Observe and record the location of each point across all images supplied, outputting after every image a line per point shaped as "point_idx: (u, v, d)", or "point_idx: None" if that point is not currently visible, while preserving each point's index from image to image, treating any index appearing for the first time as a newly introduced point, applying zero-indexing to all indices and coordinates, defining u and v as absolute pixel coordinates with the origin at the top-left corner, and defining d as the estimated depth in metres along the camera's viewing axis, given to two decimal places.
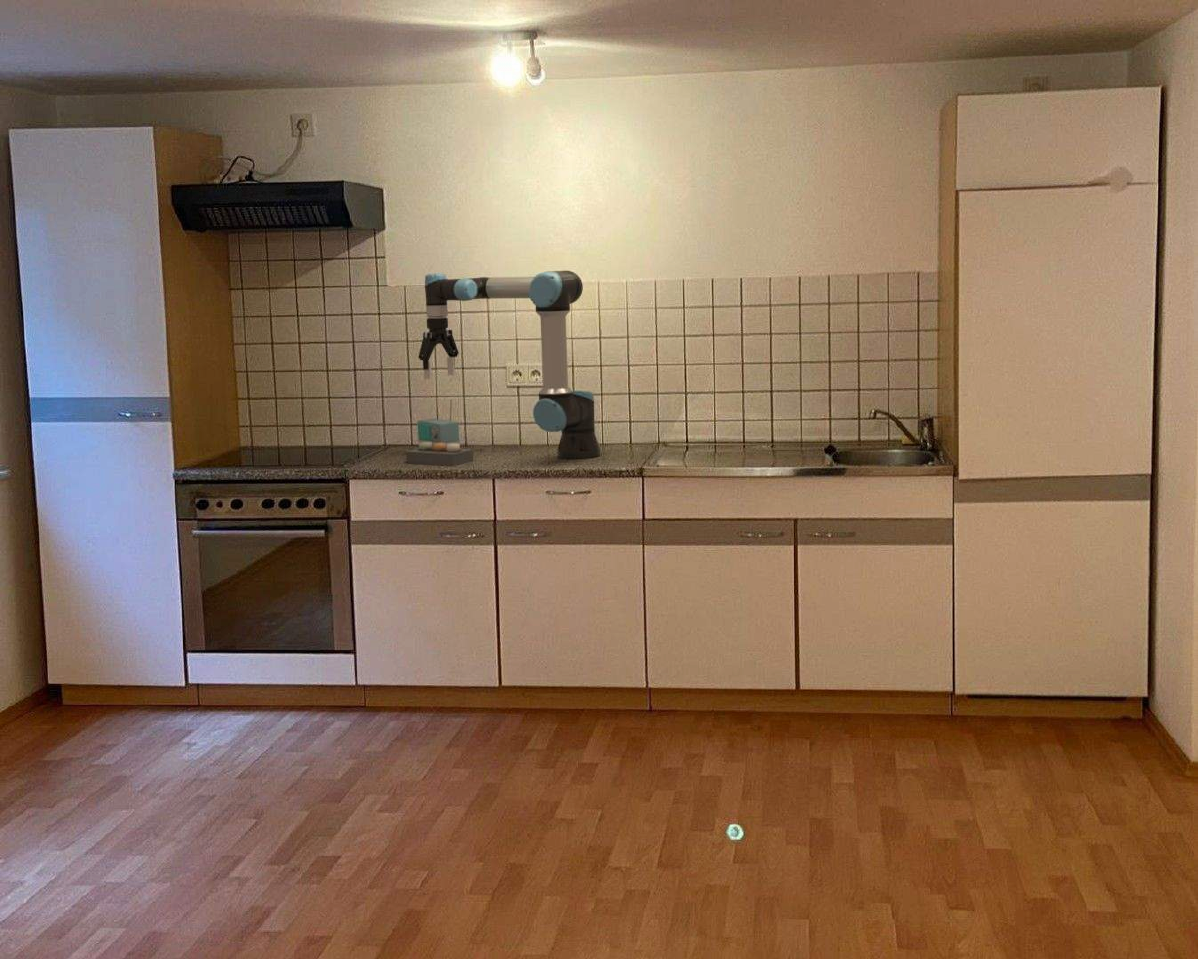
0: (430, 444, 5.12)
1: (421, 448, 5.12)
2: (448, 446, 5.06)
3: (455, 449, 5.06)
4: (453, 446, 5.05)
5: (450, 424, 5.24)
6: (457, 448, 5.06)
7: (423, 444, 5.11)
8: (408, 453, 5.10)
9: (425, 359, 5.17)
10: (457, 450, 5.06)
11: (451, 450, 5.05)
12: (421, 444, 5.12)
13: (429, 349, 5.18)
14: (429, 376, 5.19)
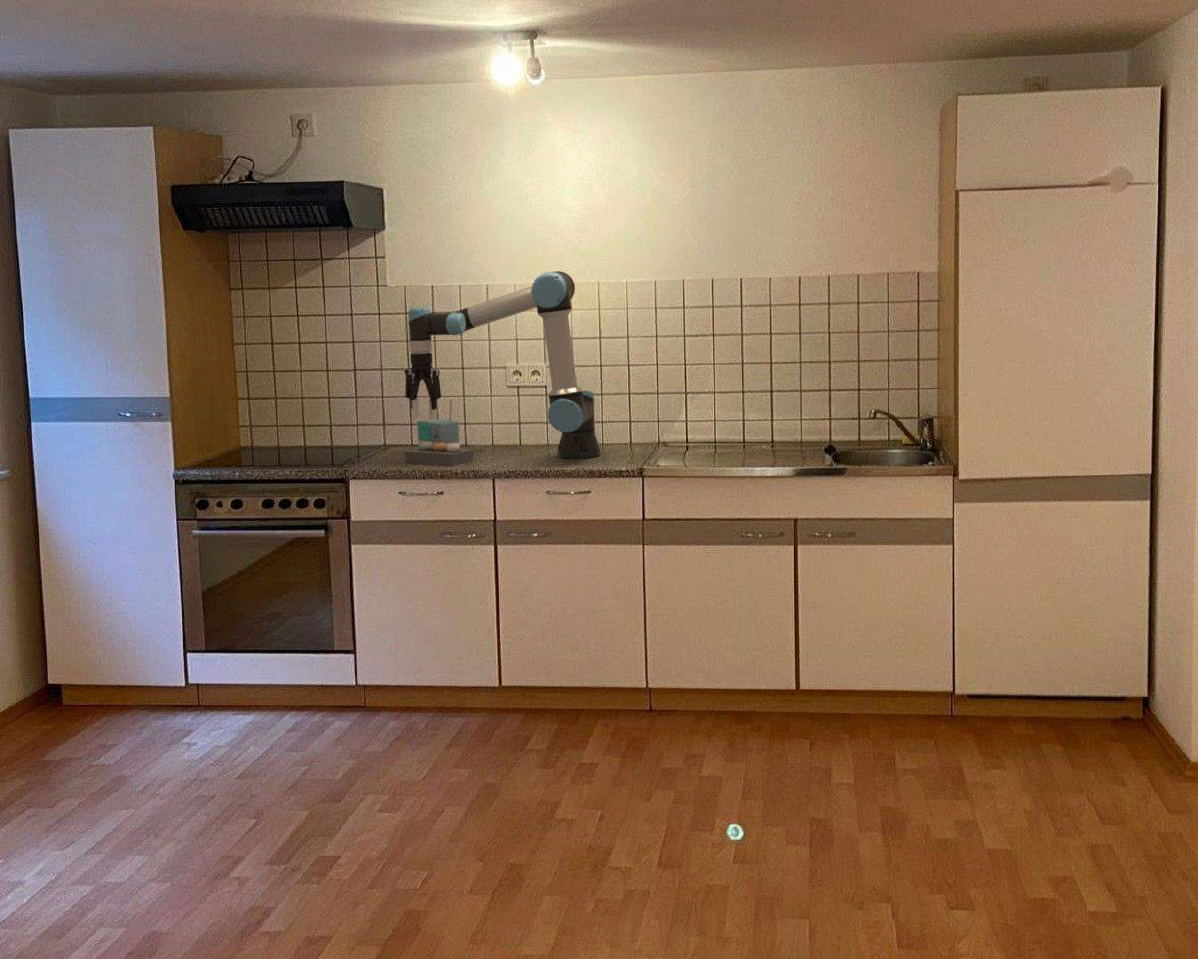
0: (430, 444, 5.12)
1: (421, 448, 5.12)
2: (448, 446, 5.06)
3: (455, 449, 5.06)
4: (453, 446, 5.05)
5: (450, 424, 5.24)
6: (457, 448, 5.06)
7: (423, 444, 5.11)
8: (408, 453, 5.10)
9: (410, 399, 5.13)
10: (457, 450, 5.06)
11: (451, 450, 5.05)
12: (421, 444, 5.12)
13: None
14: None
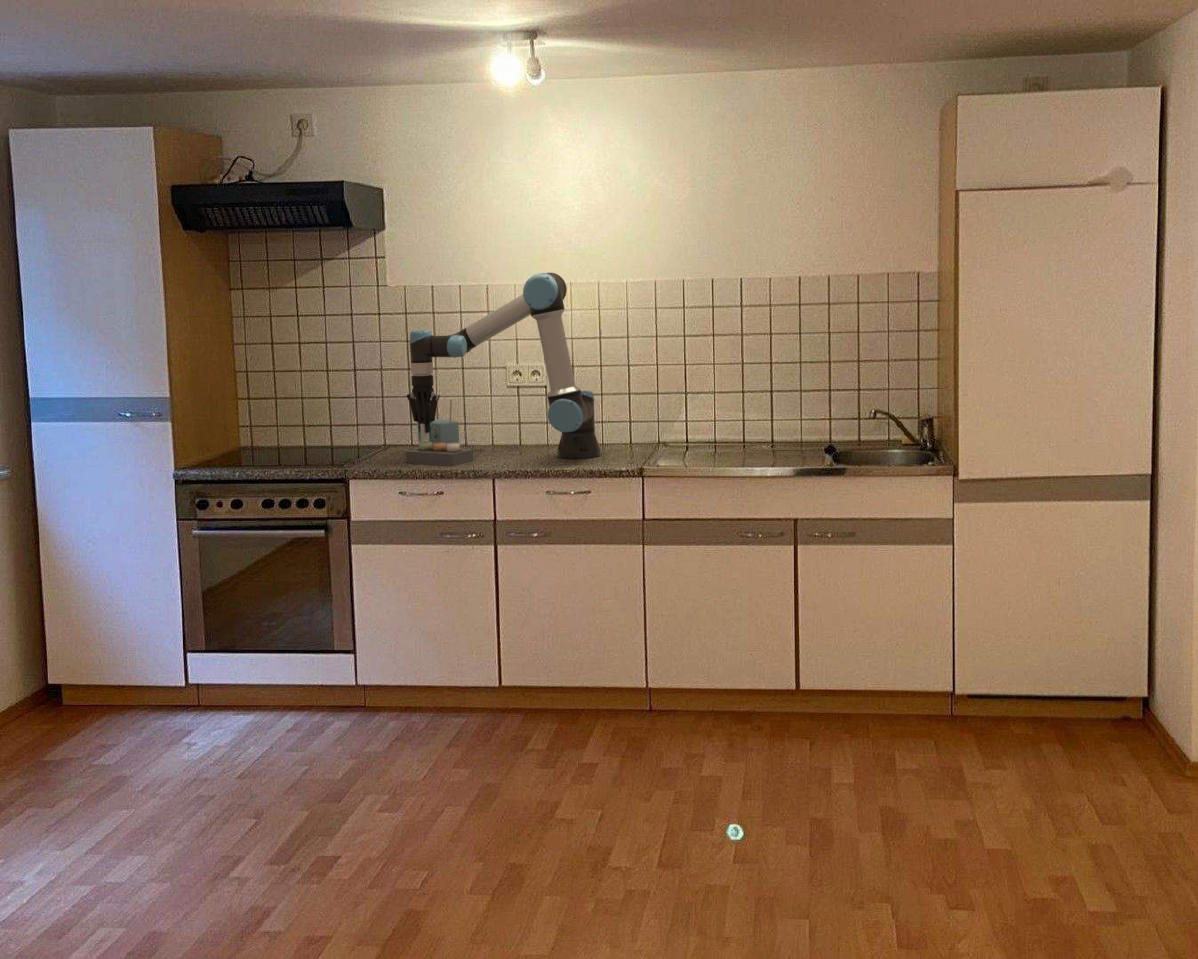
0: (430, 444, 5.12)
1: (421, 448, 5.12)
2: (448, 446, 5.06)
3: (455, 449, 5.06)
4: (453, 446, 5.05)
5: (450, 424, 5.24)
6: (457, 448, 5.06)
7: (423, 444, 5.11)
8: (408, 453, 5.10)
9: None
10: (457, 450, 5.06)
11: (451, 450, 5.05)
12: (421, 444, 5.12)
13: None
14: None
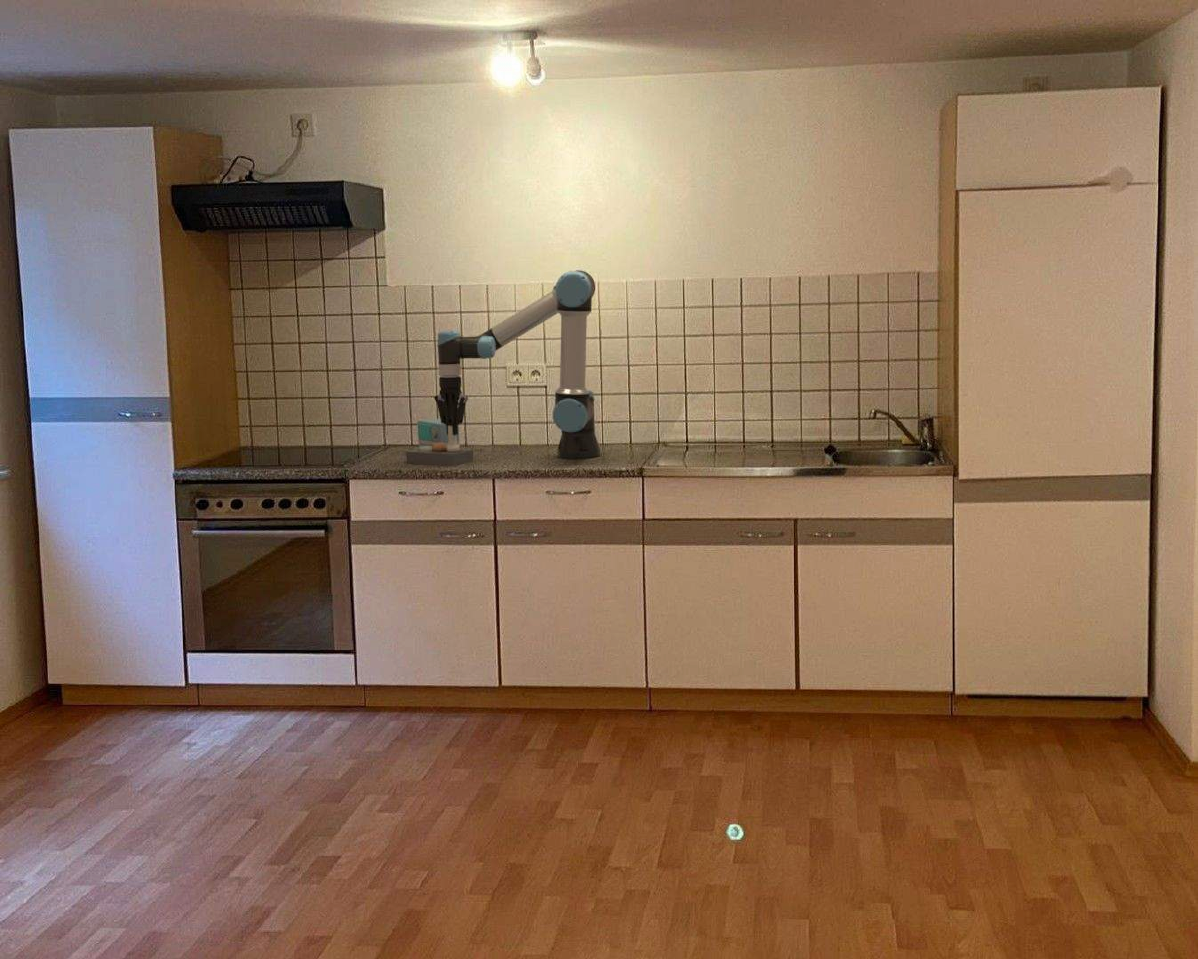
0: (430, 448, 5.13)
1: None
2: (448, 447, 5.06)
3: (455, 450, 5.06)
4: (453, 447, 5.05)
5: None
6: (457, 449, 5.06)
7: (423, 448, 5.12)
8: (408, 453, 5.10)
9: None
10: (457, 451, 5.06)
11: (451, 451, 5.05)
12: (421, 448, 5.12)
13: None
14: None
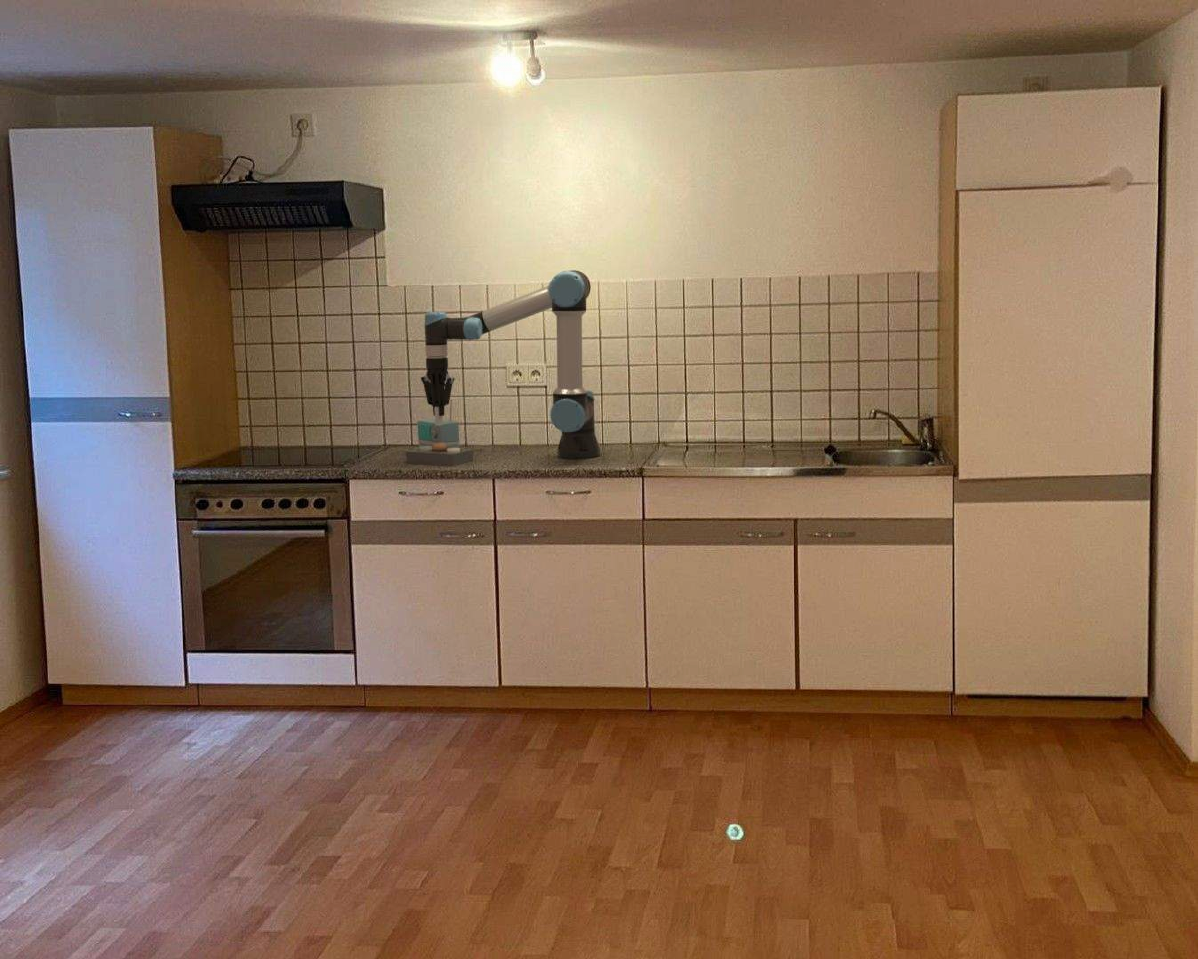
0: (430, 448, 5.13)
1: None
2: (448, 450, 5.06)
3: None
4: (453, 450, 5.05)
5: (450, 424, 5.24)
6: None
7: (423, 448, 5.12)
8: (408, 453, 5.10)
9: (433, 406, 5.08)
10: None
11: None
12: (421, 448, 5.12)
13: None
14: None
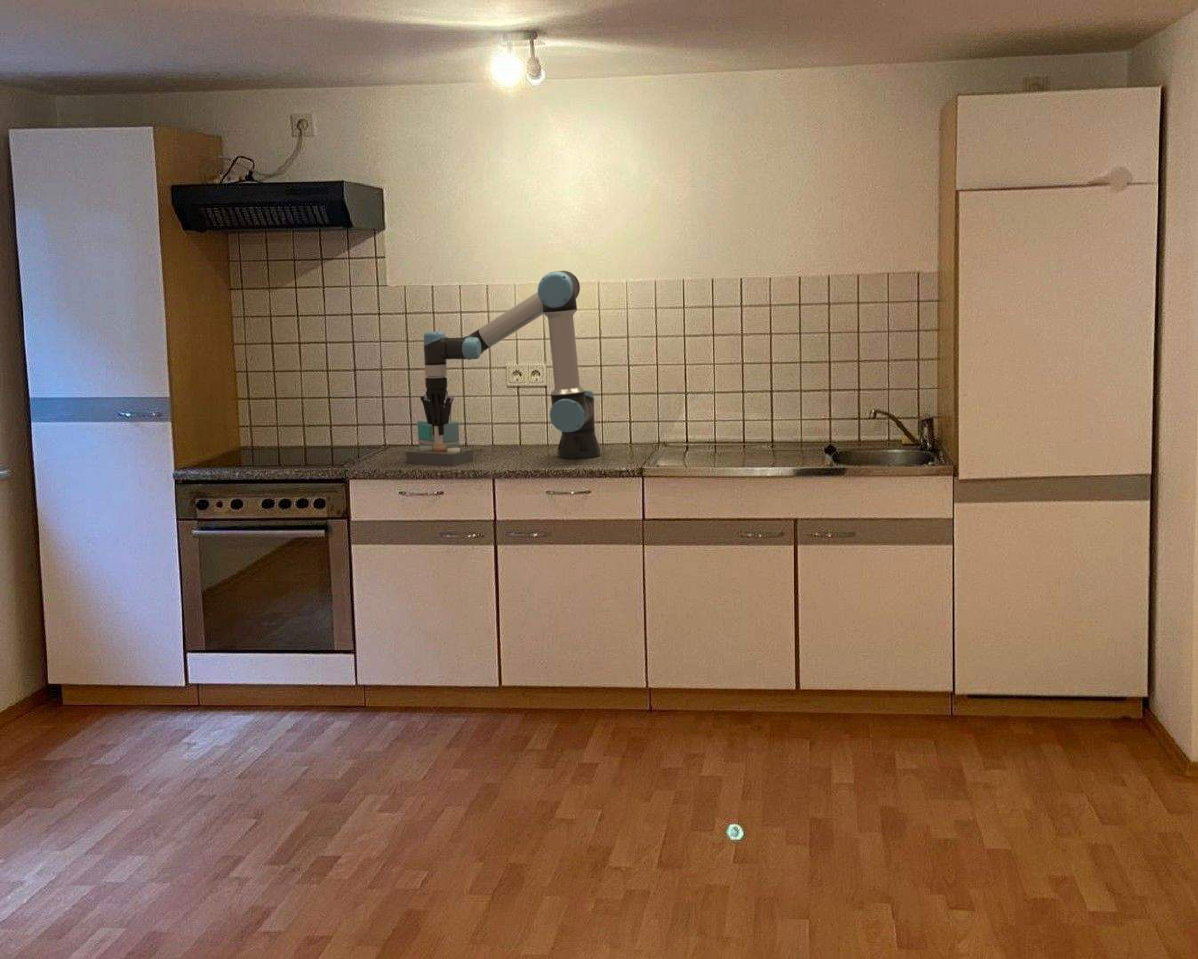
0: (430, 448, 5.13)
1: None
2: (448, 450, 5.06)
3: None
4: (453, 450, 5.05)
5: (450, 424, 5.24)
6: None
7: (423, 448, 5.12)
8: (408, 453, 5.10)
9: (432, 425, 5.10)
10: None
11: None
12: (421, 448, 5.12)
13: None
14: None
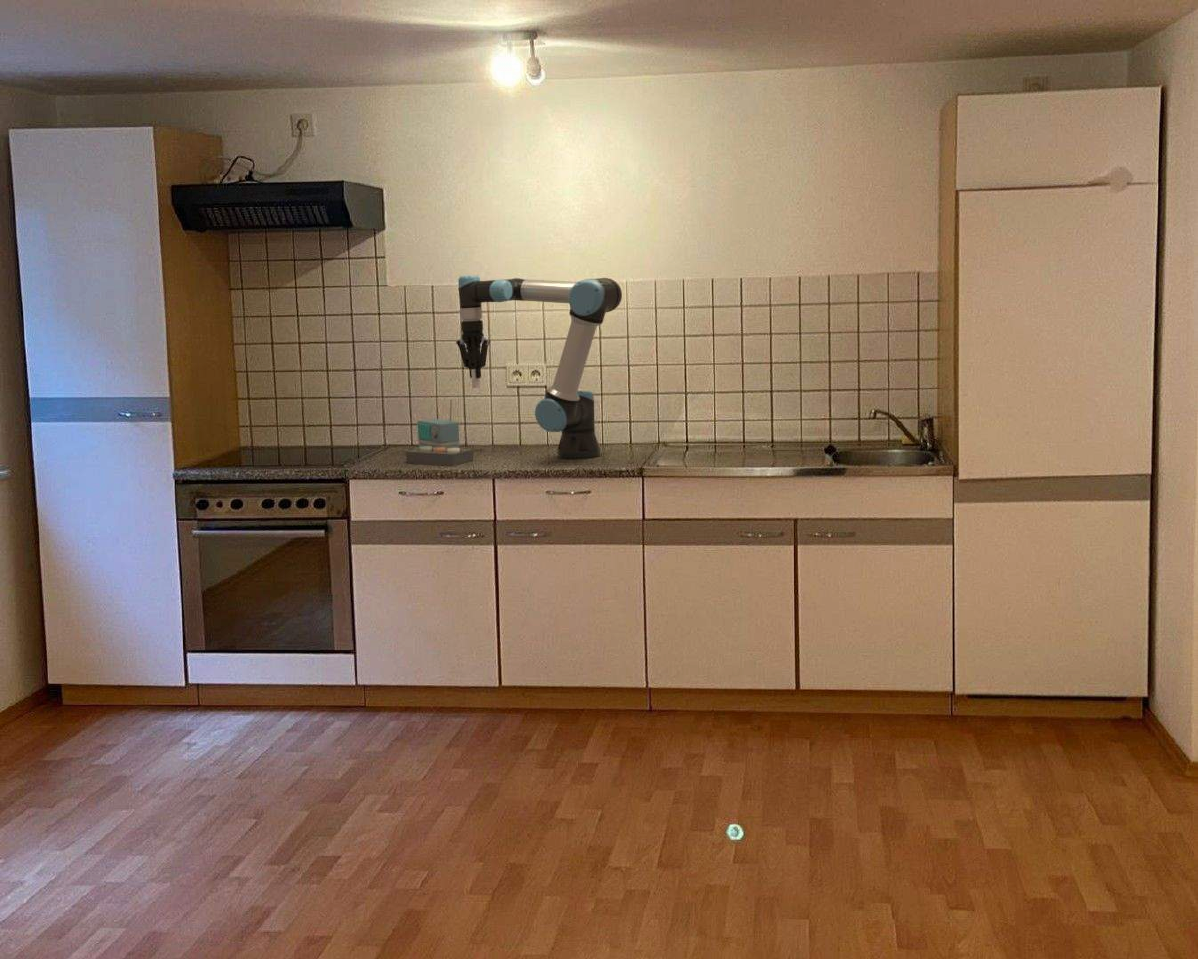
0: (430, 448, 5.13)
1: None
2: (448, 450, 5.06)
3: None
4: (453, 450, 5.05)
5: (450, 424, 5.24)
6: None
7: (423, 448, 5.12)
8: (408, 453, 5.10)
9: (469, 369, 5.16)
10: None
11: None
12: (421, 448, 5.12)
13: None
14: None
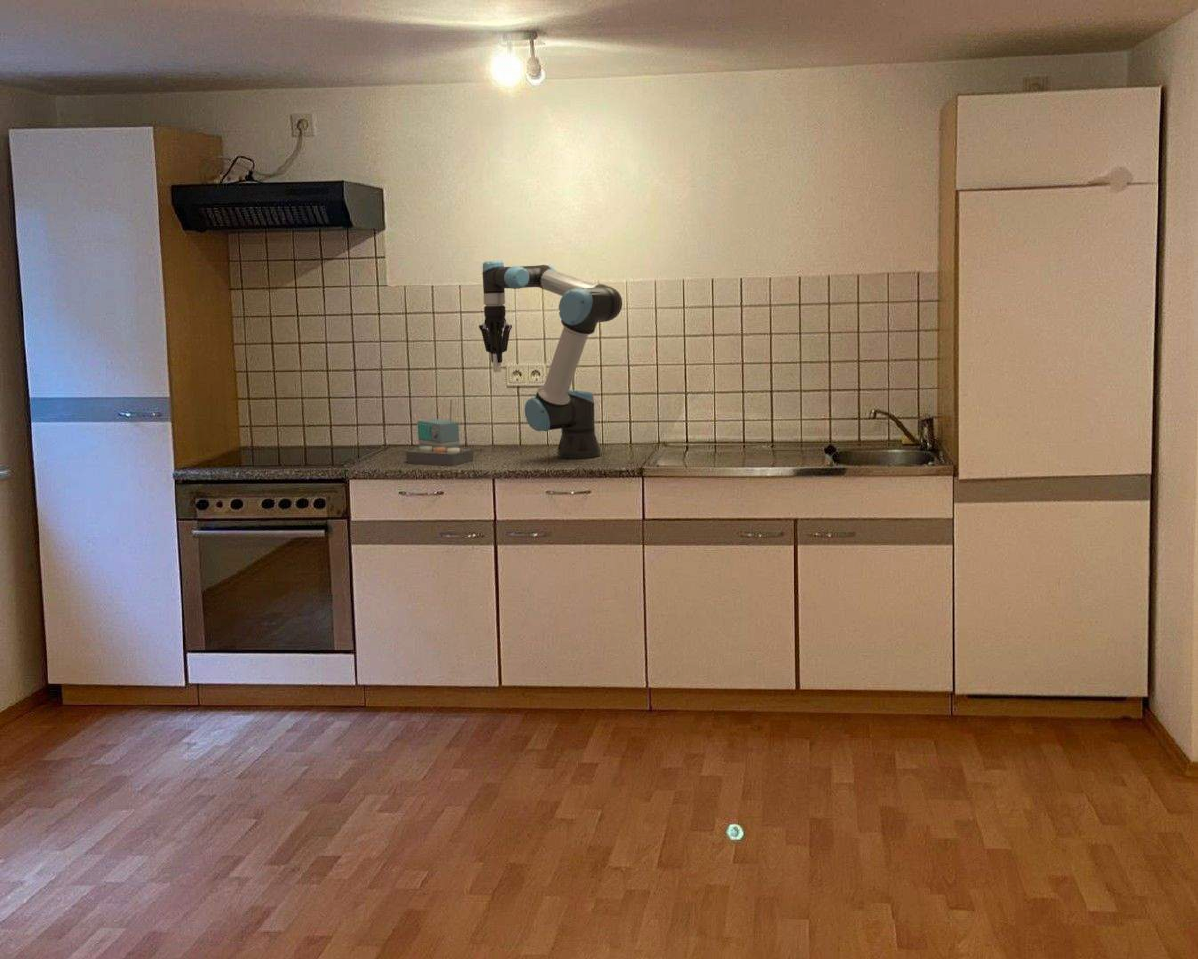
0: (430, 448, 5.13)
1: None
2: (448, 450, 5.06)
3: None
4: (453, 450, 5.05)
5: (450, 424, 5.24)
6: None
7: (423, 448, 5.12)
8: (408, 453, 5.10)
9: (491, 353, 5.22)
10: None
11: None
12: (421, 448, 5.12)
13: None
14: None
